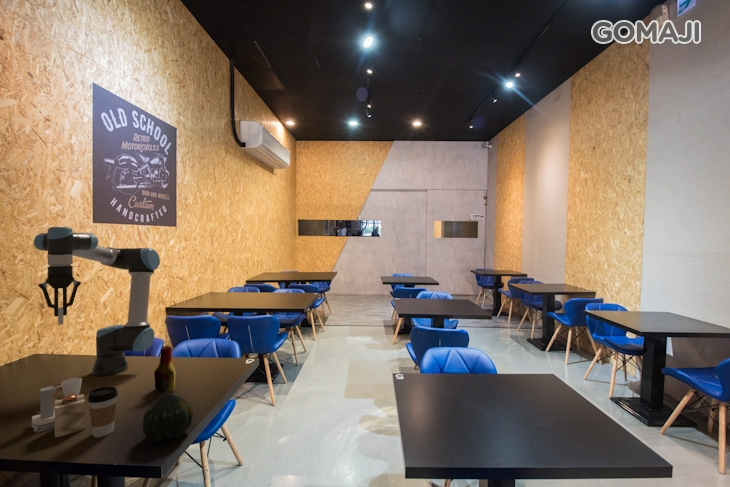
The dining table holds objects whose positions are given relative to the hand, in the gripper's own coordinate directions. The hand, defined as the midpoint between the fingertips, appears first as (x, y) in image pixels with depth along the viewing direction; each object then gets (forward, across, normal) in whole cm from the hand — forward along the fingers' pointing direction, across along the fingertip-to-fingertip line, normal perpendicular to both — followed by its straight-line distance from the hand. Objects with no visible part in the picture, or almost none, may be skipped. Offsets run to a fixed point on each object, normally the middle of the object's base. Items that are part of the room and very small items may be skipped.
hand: (60, 324), depth 137 cm
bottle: (+35, -35, +8) cm, 50 cm away
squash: (+35, -27, +50) cm, 67 cm away
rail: (+34, +4, +8) cm, 35 cm away
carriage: (+34, +4, +12) cm, 37 cm away
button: (+30, -2, +21) cm, 37 cm away
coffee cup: (+35, -11, +33) cm, 49 cm away
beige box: (+34, -2, +22) cm, 41 cm away
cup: (+35, -2, -9) cm, 36 cm away
